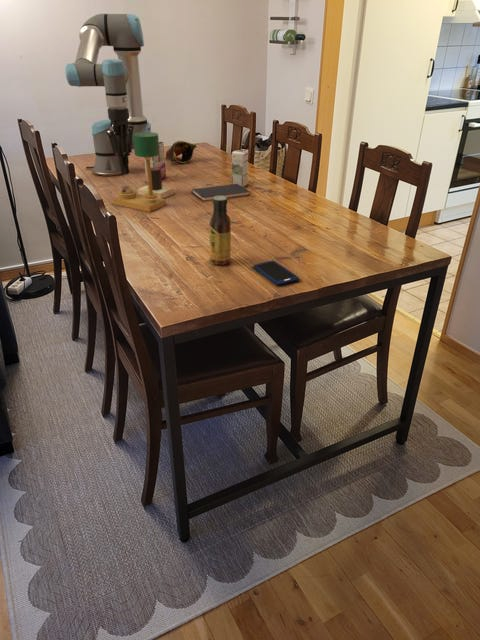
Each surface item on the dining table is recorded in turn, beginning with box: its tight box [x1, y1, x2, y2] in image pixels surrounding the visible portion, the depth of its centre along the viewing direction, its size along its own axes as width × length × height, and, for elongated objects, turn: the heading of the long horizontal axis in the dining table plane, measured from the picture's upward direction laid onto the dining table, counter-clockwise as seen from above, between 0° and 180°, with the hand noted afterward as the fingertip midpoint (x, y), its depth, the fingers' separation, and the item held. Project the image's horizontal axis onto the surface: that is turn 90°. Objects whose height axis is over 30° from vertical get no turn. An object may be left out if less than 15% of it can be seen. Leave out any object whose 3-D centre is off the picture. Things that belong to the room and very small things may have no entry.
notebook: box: [191, 183, 250, 202], centre depth 203 cm, size 13×2×21 cm
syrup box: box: [231, 149, 249, 188], centre depth 212 cm, size 6×6×14 cm
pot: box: [165, 140, 199, 164], centre depth 251 cm, size 17×11×18 cm
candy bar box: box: [143, 140, 167, 183], centre depth 217 cm, size 11×5×16 cm, turn 161°
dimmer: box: [136, 184, 175, 199], centre depth 201 cm, size 12×10×3 cm
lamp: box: [133, 131, 160, 199], centre depth 180 cm, size 9×9×23 cm
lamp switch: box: [121, 185, 133, 194], centre depth 191 cm, size 4×4×2 cm
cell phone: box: [252, 260, 300, 286], centre depth 138 cm, size 7×14×1 cm, turn 30°
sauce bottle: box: [208, 196, 232, 266], centre depth 140 cm, size 7×6×20 cm
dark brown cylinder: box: [151, 167, 163, 190], centre depth 199 cm, size 6×6×8 cm
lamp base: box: [113, 189, 167, 213], centre depth 190 cm, size 18×10×4 cm, turn 60°
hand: (125, 173), depth 187 cm, fingers closed
